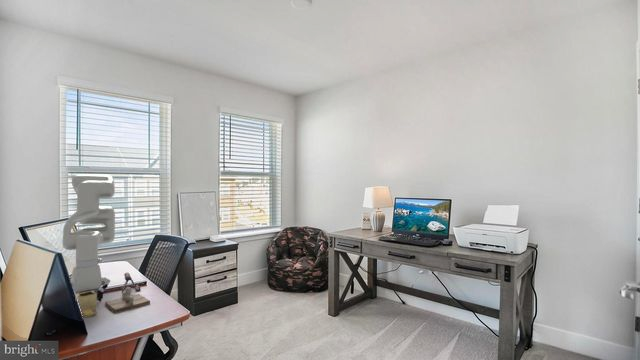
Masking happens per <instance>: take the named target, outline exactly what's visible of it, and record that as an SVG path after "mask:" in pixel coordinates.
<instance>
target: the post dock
mask: <svg viewBox="0 0 640 360" xmlns="http://www.w3.org/2000/svg"><path fill="white" fill-rule="evenodd" d="M124 290H125V291H123V293H122V296H121V298H116V299H112V300H107V301H105V304H104V305H105V306H106V307H107V308H108V309H109V310H110V311H112V313H114V314H118V313H121V312H125V311H129V310H132V309H136V308H140V307H143V306H147V305H150V304H151V300H150V299H148V298H147V297H145V296H143V295H142V294H140V293H138V294H134V295H132V293H131V292H132V291H131V287H125V289H124Z"/></svg>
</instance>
